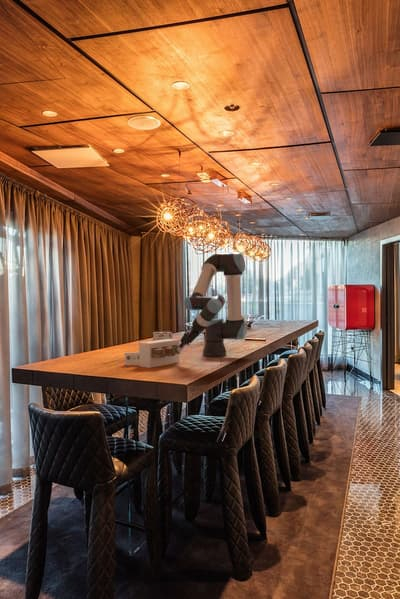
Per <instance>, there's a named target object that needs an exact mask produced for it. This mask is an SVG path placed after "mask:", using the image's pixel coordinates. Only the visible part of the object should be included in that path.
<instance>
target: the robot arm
mask: <svg viewBox="0 0 400 599" xmlns="http://www.w3.org/2000/svg"><path fill="white" fill-rule="evenodd" d="M245 260H246V259H245V257H244V255H243V254H242V253H241V252H217V253H214V254H212V255H211V256H209V257H207V258H206V259H205V260H204V262H203V264H202V266H201V268H200V269H201V272H200V275H199V277H198V279H197V282H196V284H195V286H194V289H193V291H192V293H191V296H190V295H189V296H186V297H184V300H183V302H184V303H183V304H184V309H186V310H189V311H200V312H199V313H198V315H197V316H196V318H194V320H193V321H192V323H191V325H192V326H191V327H190V328H189V330H188V329H186V330H185V331H184V333H183V335H182V337H181V339H179V342H181V343H179V346H178V348H177V351H178V352H179V353H180V354H181V353H182V351H183V350H184V349H185V347H187V346H190V344H191V343H192V342H193V341H194V340H196V339H197V338H198V337H199V335H201V334H202V333H203V332H205V333H204V336H205V337H204V338H205V339H204V343H205V344H204V346H203V350H202V356H203V357H208V358H209V357H210V358H212V357H214V358H216V357H217V358H218V357H225V356H227V349H226V346H225V344H224V340H236V341H239V340H244V339H245V338H246V336H247V332H248V321H246V320H245V317H244V316H243V315H242V314H243V313H242V312H243V311H242V291H241V276H243V272H245V271H246V262H245ZM219 272H220V273H223V276H224V278H225V280H226V283H225V284H226V298H225V296H223V295H222V294H218V293H217V294H216V295H213V296H206V295H207V292H208V289H209V288H210V285H211V283H212V280H213V278H214V276H216V274H217V273H219ZM226 303H227V316H226V317H225V320H224V318H223V317H221V318H215V317H216V316H217V314H219V313H220V311H222V309H223V308H224V306H225V304H226Z"/></svg>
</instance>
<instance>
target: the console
mask: <svg viewBox="0 0 400 599" xmlns="http://www.w3.org/2000/svg"><path fill="white" fill-rule="evenodd" d="M138 343H139V344H138V352H139V365H138V366H139V367H142V368H149V369H150V368H155V367H161V366H167V365H172V364H178V363H180V354H175V356H170V357H169V356H165V357H164V358H153V357H151V349H152V348H158V349H162V347H172V346H173V345H176V346H179V345H180V339H176V338H174V339H173V338H172V339H164V340H156V341H153V340H150V341H149V340H148V341H142V342H138Z"/></svg>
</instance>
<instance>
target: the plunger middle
mask: <svg viewBox="0 0 400 599" xmlns="http://www.w3.org/2000/svg"><path fill="white" fill-rule="evenodd" d="M162 349H165V356H169V357H170V356H175V348H173V347H162Z"/></svg>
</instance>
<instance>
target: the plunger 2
mask: <svg viewBox="0 0 400 599" xmlns="http://www.w3.org/2000/svg"><path fill="white" fill-rule="evenodd" d="M172 347H173V348H175V354H179V355H180V354H181V352H180V353H179V352H178V351H177V348H178V346H176V345H173V346H172Z"/></svg>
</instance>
